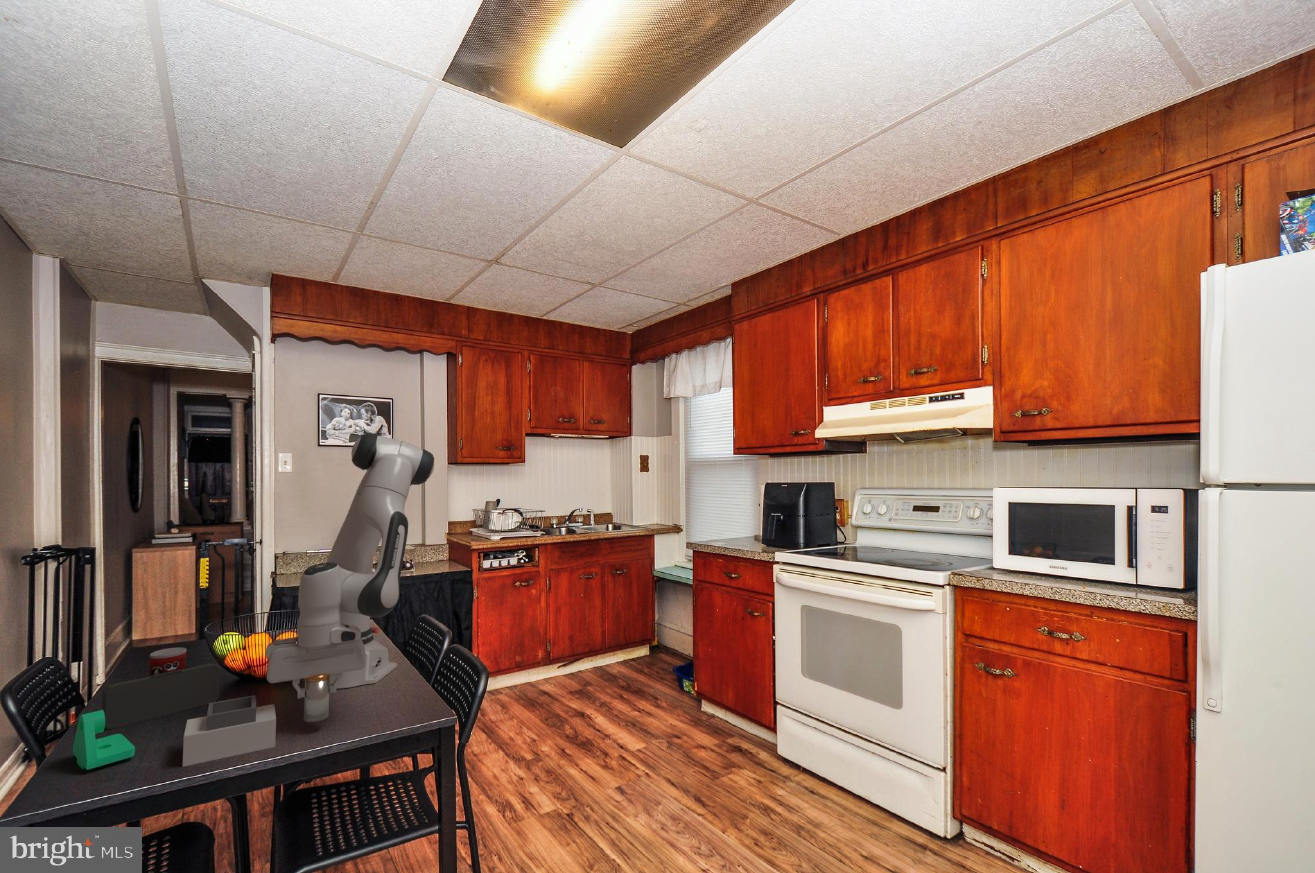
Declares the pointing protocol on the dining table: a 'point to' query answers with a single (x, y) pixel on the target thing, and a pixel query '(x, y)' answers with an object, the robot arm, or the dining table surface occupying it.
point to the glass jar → (316, 698)
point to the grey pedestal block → (229, 730)
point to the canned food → (167, 660)
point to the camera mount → (98, 743)
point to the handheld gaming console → (160, 695)
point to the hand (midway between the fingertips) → (317, 694)
